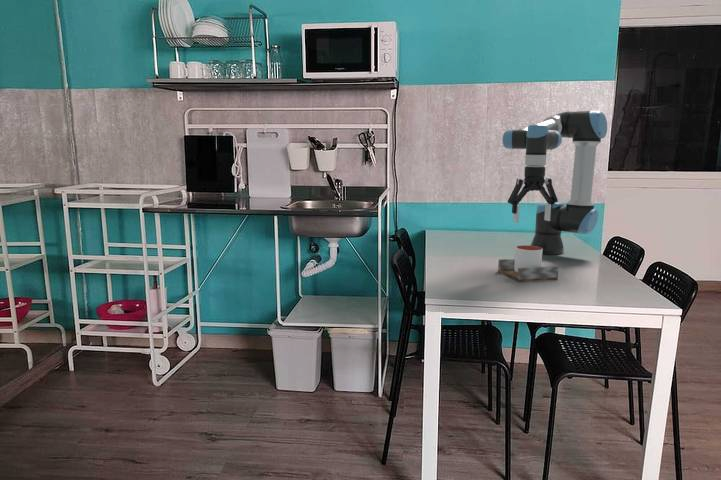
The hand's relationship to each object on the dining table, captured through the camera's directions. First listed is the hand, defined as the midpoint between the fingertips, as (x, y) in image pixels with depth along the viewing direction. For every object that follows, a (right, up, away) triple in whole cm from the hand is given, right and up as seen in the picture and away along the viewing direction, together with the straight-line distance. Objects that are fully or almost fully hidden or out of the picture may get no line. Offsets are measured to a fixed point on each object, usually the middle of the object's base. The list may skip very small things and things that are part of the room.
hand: (531, 221), depth 208 cm
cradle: (-2, -21, 0) cm, 21 cm away
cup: (-2, -20, 0) cm, 20 cm away
